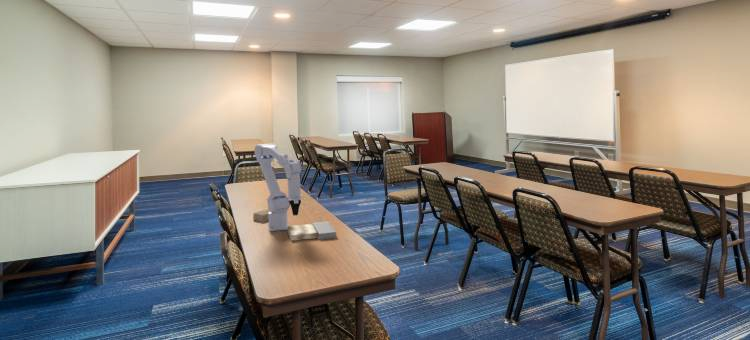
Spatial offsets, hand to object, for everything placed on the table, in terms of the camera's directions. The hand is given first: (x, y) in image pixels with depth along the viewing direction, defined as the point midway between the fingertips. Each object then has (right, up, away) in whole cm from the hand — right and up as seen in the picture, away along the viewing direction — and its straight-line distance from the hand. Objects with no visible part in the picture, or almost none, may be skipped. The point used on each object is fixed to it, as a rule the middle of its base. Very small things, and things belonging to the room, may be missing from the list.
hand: (295, 215), depth 205 cm
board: (+13, -9, +3) cm, 16 cm away
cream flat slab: (+3, -9, 0) cm, 10 cm away
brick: (-21, -6, +33) cm, 39 cm away
